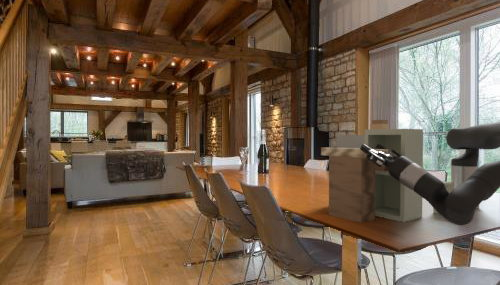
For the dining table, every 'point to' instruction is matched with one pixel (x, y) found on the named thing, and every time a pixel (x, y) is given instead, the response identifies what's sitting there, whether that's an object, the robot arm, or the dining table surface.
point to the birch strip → (348, 152)
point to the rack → (387, 187)
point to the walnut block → (352, 188)
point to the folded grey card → (350, 141)
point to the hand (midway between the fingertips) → (369, 146)
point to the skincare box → (449, 188)
